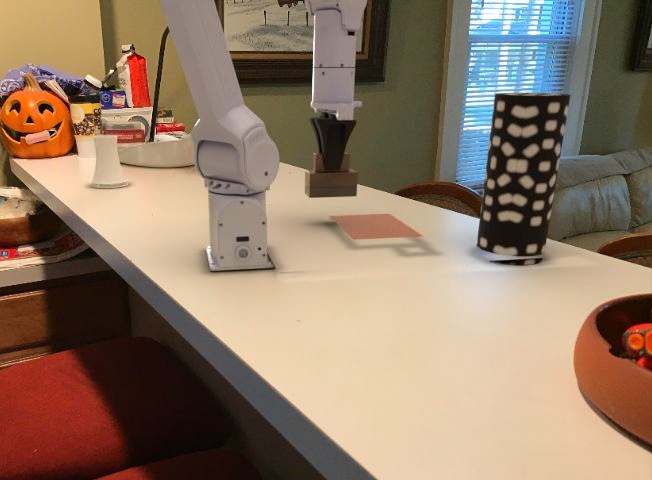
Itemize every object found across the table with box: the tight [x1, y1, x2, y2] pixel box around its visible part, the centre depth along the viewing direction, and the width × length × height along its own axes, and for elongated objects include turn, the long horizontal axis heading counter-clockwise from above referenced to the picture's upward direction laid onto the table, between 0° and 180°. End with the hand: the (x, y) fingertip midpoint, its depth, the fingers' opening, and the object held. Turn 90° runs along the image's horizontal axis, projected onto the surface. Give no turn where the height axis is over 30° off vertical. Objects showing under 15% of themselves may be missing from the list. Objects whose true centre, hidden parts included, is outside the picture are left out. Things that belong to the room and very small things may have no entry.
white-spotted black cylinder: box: [476, 92, 571, 266], centre depth 76 cm, size 8×8×20 cm
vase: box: [90, 134, 129, 189], centre depth 126 cm, size 8×8×10 cm
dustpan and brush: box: [117, 133, 195, 169], centre depth 150 cm, size 23×33×10 cm
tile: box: [328, 213, 423, 241], centre depth 90 cm, size 14×10×1 cm
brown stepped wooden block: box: [304, 151, 359, 199], centre depth 88 cm, size 7×4×6 cm, turn 98°
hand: (330, 168), depth 88 cm, fingers closed on brown stepped wooden block, 2 cm apart
